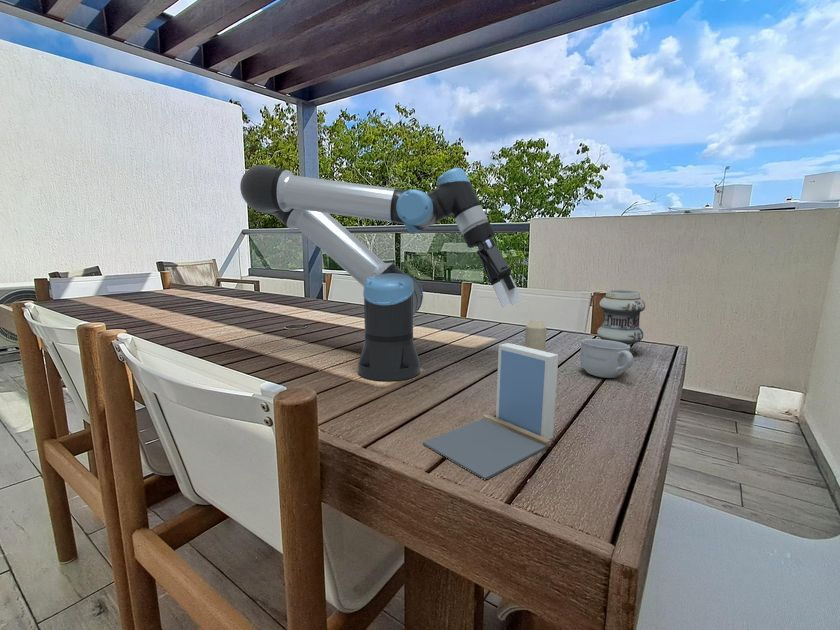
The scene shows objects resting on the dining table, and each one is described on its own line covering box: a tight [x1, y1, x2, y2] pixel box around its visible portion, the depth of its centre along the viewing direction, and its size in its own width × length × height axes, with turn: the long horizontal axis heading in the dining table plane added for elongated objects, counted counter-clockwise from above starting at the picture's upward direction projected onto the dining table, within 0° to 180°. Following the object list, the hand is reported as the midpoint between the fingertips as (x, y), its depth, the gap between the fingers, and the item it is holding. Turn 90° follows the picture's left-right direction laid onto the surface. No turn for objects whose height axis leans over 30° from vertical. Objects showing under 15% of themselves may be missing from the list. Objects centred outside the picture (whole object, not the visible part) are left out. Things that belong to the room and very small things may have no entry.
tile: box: [495, 342, 559, 440], centre depth 70 cm, size 3×10×14 cm, turn 40°
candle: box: [524, 320, 547, 352], centre depth 116 cm, size 6×6×10 cm
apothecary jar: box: [596, 289, 646, 357], centre depth 120 cm, size 12×12×18 cm
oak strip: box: [482, 413, 552, 449], centre depth 70 cm, size 1×13×1 cm, turn 40°
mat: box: [422, 418, 548, 481], centre depth 65 cm, size 15×13×1 cm
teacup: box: [579, 338, 634, 379], centre depth 99 cm, size 14×11×8 cm
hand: (512, 303), depth 105 cm, fingers open, 13 cm apart
